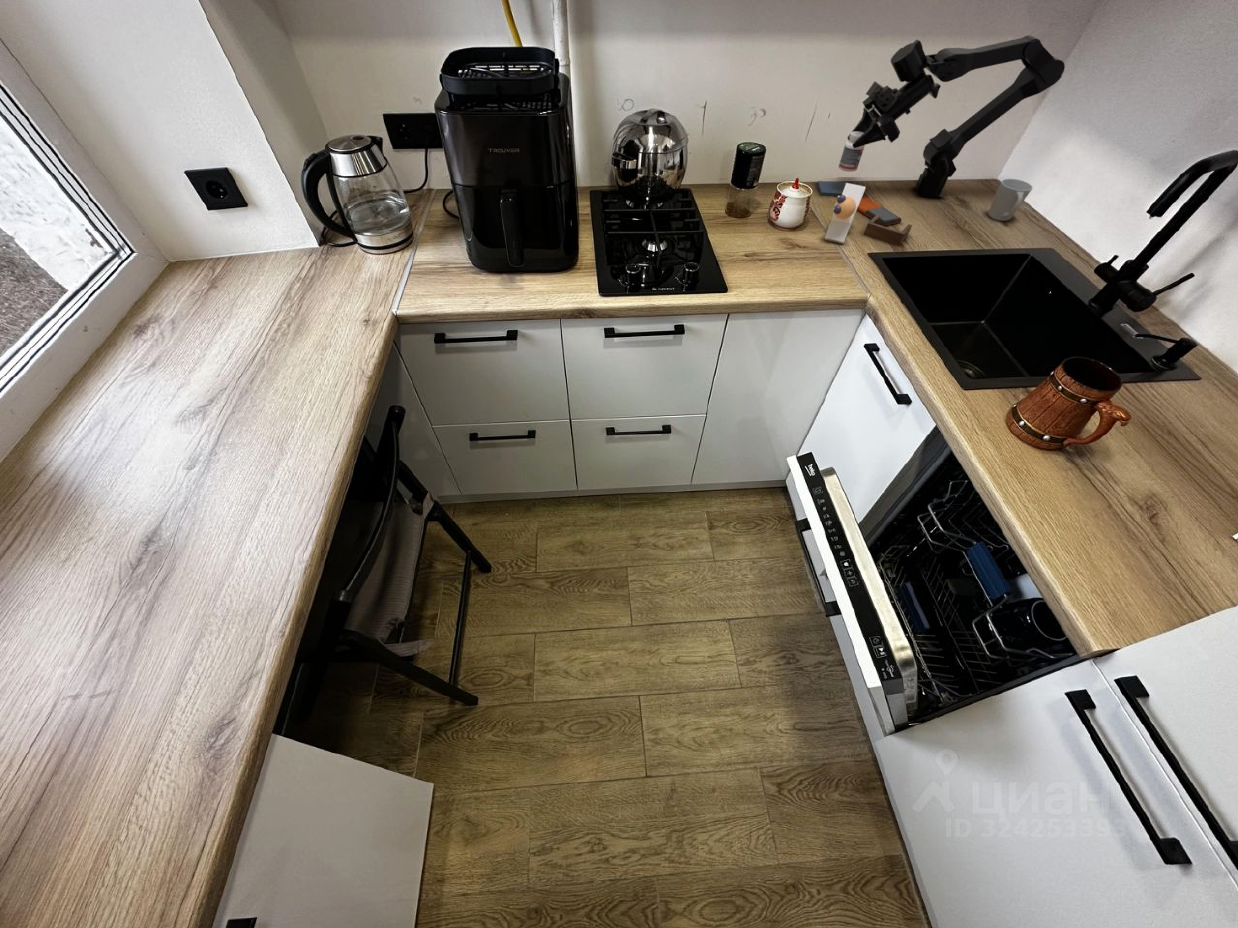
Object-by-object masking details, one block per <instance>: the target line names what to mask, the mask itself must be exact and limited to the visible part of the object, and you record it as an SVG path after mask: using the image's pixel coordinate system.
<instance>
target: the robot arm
mask: <svg viewBox="0 0 1238 928" xmlns="http://www.w3.org/2000/svg"><path fill="white" fill-rule="evenodd" d="M1015 61H1021V63H1022V64H1023V66H1024V68H1022V70H1021V71H1020V72H1019V74H1018V75H1017V77H1016V78H1015V80H1014V81H1013V83H1012V84H1010V86H1008V87H1007V88H1006V89H1004V90H1003V91H1002V92H1001V93H999V94H998V95H997V96H995V97H994V98H993V99H992V100H991V101H989V102H988V103H987V104H985V105H984V106H983V107H981V108H980V109H979V110H978V111H977V112H975V113H974V114H973V115H971V116H970V117H969V118H968V119H967V120H965V121H964V122H963V123H961V124H960V125H959V126H957V127H956V128H955V129H952V130H950V131H949V130H947V129H946V128H943V129H942V130H940V131H939V132H938V133H937V134H936V135H935V136H933V137H931V138H929V142H928V143H926V145H925V146H924V149H923V151H922V152H923V153H922V157H923V159H924V166H926V167H925V168H924V169H923V172H922V173H921V174H919V176H918V179H917V181H916V184H915V185H914V187H913V189H914V190H915V192H916V194H917V196H918V197H921V198H933V199H934V198H936V199H937V198H938V199H941V198H943V195H942V192H943V189H944V187H945V186H946V183H947V182H948V179H949V178H951V177H952V176H953V175H954V174H955V173H956V172H957V167H956V165H955V163H954V160H955V159H956V158H957V157H958V156H959V154H960V153H961V151H962V150H963V148H964V147H965V145H967V143H968V142H970V141H971V140H972V139H973V138H975V137H976V136H978V135H979V134H980V133H982V132H983V131H984V130H986V128H988V127H989V126H991V125H992V124H994V122H996V121H997V120H998V119H1000V118H1001V117H1003V116H1004V115H1005V114H1007V112H1009V111H1011V110H1012V109H1013V108H1014V107H1015V106H1016V105H1018V104H1019V103H1020V102H1022V101H1023V100H1025V99H1028V98H1031V97H1033V96H1036V95H1039V94H1041V93H1043V92H1045V91H1046V90H1047V89H1049V88H1051V87H1052V86H1054V85H1055V84H1057V83H1058V82H1059V81H1060V80H1061V79H1062V77H1063V75H1064V72H1065V68H1066V66H1065V65H1066V64H1065V62H1064V61H1063V60H1062V59H1059V58H1058V57H1055V56H1054V55H1052V54H1051V53H1050V52H1049V50H1047V49H1046V48H1045V46H1044V45H1043V44H1042V42H1041V40H1040V39H1039V38H1038V37H1035V36H1033V35H1030V34H1029V35H1028V34H1027V35H1025V36H1022V37H1020V38H1015V39H1011V40H1006V41H1001V42H997V43H993V44H988V45H983V46H979V47H974V48H964V47H946V48H942V49H940V50H938V52H937V53H932V54H926V53H925V51H924V49H923V44H922V41H921V40H919V39H918V38H917V39H915V40H914V41H913V42H911V43H908V44H906V45H904V46H903V47H900V48H899V49H898V50H897V51H896V52H895V53H894V54H893V55H892V57H891V58H890V64H891V66H892V68H893V70H894V72H895V74H896V76H897V78H898V80H899V82H900V83H904V82H905V84H903V85H902V86H901V87H900V88H896V87H894V88H891V87H890V86H889V85H886V86H882V85H881V84H880V83H878V82H877V81H876V80H874V81H873V83H872V84H871V86H869V88H868V90H867V91H866V93H865V95H866V96H868V97H866V98H865V99H864V100H863V101H862V105H863V106H864V107H863V109H862V111H863V112H862V116H861V119H860V120H859V121H858V123H857V124H856V126H855V127H854V128H853V130H852V131H851V132H854V131H859V132H863V134H862V135H861V136H860V137H859V138H858V139H857V140H856V141H855V142H854V143H853V145H852V146H853V147H854V148H857V147H860V146H863V145H865V146H867V145H870V144H873V143H876V142H881V141H887V140H888V141H889V143H890V144H892V143H894V142H895V141H896V140H897V139H898V138H899V137H900V134H901V131H900V129H899V126H898V124H897V123H896V121H897V120H898V119H899V118H901V117H902V116H903V115H904V114H905V115H906V116H908V115H910V114H911V112H912V111H911V109H912V108H913V107H914V106H916V105H917V104H918V103H919V102H921V101H922V100H923V99H925V97H927V96H928V95H930V96H931V97H932V98H933V99H937V98H938V95H939V92H940V89H941V86H942V85H940V84H939V83H938V82H935V80H934V77H935V78H937V79H938V80H939V81H940V82H943V83H948V82H951V81H952V82H953V81H954V80H957V79H959V78H961V77H963V76H965V75H967V74H968V73H970V72H972V71H975V70H978V69H983V68H988V67H992V66H997V65H1001V64H1006V63H1011V62H1015ZM925 70H927V71H928V72H930V74H926V73H927V72H926V71H925ZM933 76H934V77H933ZM851 132H850V133H849V135H848V136H847V137H846V138H847V141H849V140H850V139H849V138H850V134H851ZM886 137H887V138H886Z"/></svg>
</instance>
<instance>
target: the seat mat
mask: <svg viewBox="0 0 1238 928" xmlns="http://www.w3.org/2000/svg"><path fill="white" fill-rule="evenodd" d="M846 183H847V182H841V181H840V182H839V181H823V180H817V183H816V185H817V187H818V190H819V194H820V196H833V197H838V196H840V195H842V193H843V190H844V188H845V185H846ZM849 183H850V184H854V185H859V186H860V184H859V182H858V183H857V182H856V183H855V182H849ZM863 197H864V195H863V196H862V198H863Z"/></svg>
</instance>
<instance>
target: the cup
mask: <svg viewBox="0 0 1238 928" xmlns="http://www.w3.org/2000/svg"><path fill="white" fill-rule="evenodd" d="M1032 190H1033V186H1032V184H1030V183H1028V182H1027V181H1025V180H1021V179H1017V178H1004V179H1002V180H1001V182H1000V184H999V186H998V188H997V191H996V193H995V196H994V197H993V200H992V203H991V205H990V208H989V209H988V212H987V215H988V216H989V217H990V218H991V219H993V220H996V221H1001V222H1006V221H1009V220H1011V219H1012V217H1013V216H1014V215H1015V213H1016V212H1017V211H1018V210H1019V208H1020V207H1021V206H1022V204H1023V202H1024V201H1026V199H1027V198H1028V196H1029V194H1030V193H1031V191H1032Z"/></svg>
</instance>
